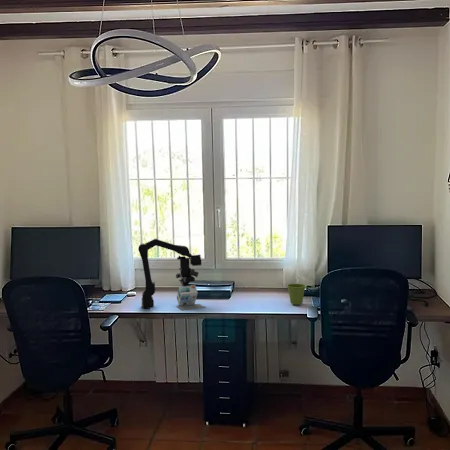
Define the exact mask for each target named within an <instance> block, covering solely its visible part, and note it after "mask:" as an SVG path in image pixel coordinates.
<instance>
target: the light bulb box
mask: <svg viewBox="0 0 450 450" xmlns="http://www.w3.org/2000/svg"><path fill="white" fill-rule="evenodd" d="M197 297H198V289H197V286H196V285H195V284H191V285H188V286H182V285H181V286H179V287H178V291H177V295H176V301H177V304H178V306H185V305H193V304H196V300H197Z"/></svg>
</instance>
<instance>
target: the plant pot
mask: <svg viewBox="0 0 450 450" xmlns="http://www.w3.org/2000/svg"><path fill="white" fill-rule="evenodd" d="M286 286H287V290H288V295H289V301H290V304H292V305H302V304H303V301H304V295H305V290H306V287H307V285H306V284H303V283H289V284H287V285H286Z"/></svg>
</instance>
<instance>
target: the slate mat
mask: <svg viewBox="0 0 450 450" xmlns="http://www.w3.org/2000/svg"><path fill="white" fill-rule="evenodd" d="M175 308H178V309H179V310H180V311H190V310H196V309H197V310H198V309H206V306H205V305H202V304H200V303H195V304H192V305H181V306H179V305H177V306H175Z"/></svg>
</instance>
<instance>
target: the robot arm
mask: <svg viewBox="0 0 450 450" xmlns="http://www.w3.org/2000/svg"><path fill="white" fill-rule="evenodd" d="M155 246H156V247H160V248H163V249H167V250H169V251H173V252H175V253H177V254H178V256H177V257H176V260H179V263H180V264H179V266H180V267H178V269H179V270H180V272H179V273H176V274H175V278H176V279H178V281H179V282H180V284H181V286H189V283H193V282H195V281H196V278H198V276H199V271H196V270H195V269H194V268H191V267H190V265H191V266H192V267H196V266H197V267H198V266H199V267H200V266H202V257H201V254H194V255H193V254H192V253H191V252H190V249H189V247H188V246H186V245H181V244H174V243H170V242H167V241H164V240H160V239H158V238H153V239H151V240H149V241H148V242H145V243H140V244H139V246H138V253H139V256H140V258H141V262H142V266H143V267H142V268H143V275H144V279H145V289H144V291H143V292H142V295H141V296H142V297H141V306H140V307H141V308H142V309H143V310H144V309H150V308H154V307H155V306H154V305H155V303H154V302H155V301H154V298H153V295H154V294H155V292H156V291H157V288H156V284H155V283H156V282H155V281H152V276H151V270H150V269H151V268H150V263H149V250H151V249H152V248H154V247H155ZM179 278H180V279H179Z"/></svg>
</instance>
